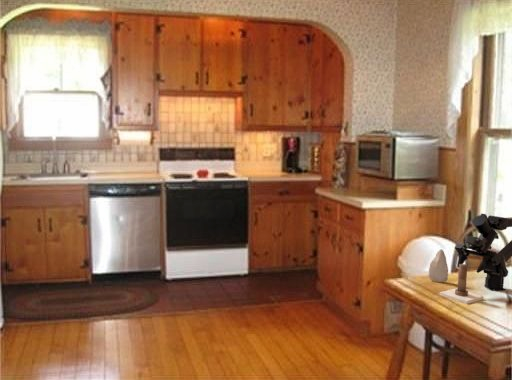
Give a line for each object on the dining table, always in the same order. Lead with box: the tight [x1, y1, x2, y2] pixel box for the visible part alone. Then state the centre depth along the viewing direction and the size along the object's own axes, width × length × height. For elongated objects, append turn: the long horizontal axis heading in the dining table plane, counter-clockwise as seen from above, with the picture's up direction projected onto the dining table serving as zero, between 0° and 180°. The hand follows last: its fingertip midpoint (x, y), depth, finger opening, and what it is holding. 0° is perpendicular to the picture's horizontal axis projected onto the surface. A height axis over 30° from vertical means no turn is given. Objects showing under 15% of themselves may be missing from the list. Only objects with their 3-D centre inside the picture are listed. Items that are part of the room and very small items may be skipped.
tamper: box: [455, 263, 469, 296], centre depth 223 cm, size 5×5×12 cm
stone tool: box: [427, 248, 449, 283], centre depth 245 cm, size 8×3×15 cm, turn 68°
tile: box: [439, 287, 484, 305], centre depth 223 cm, size 11×13×1 cm
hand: (467, 269), depth 224 cm, fingers open, 9 cm apart
